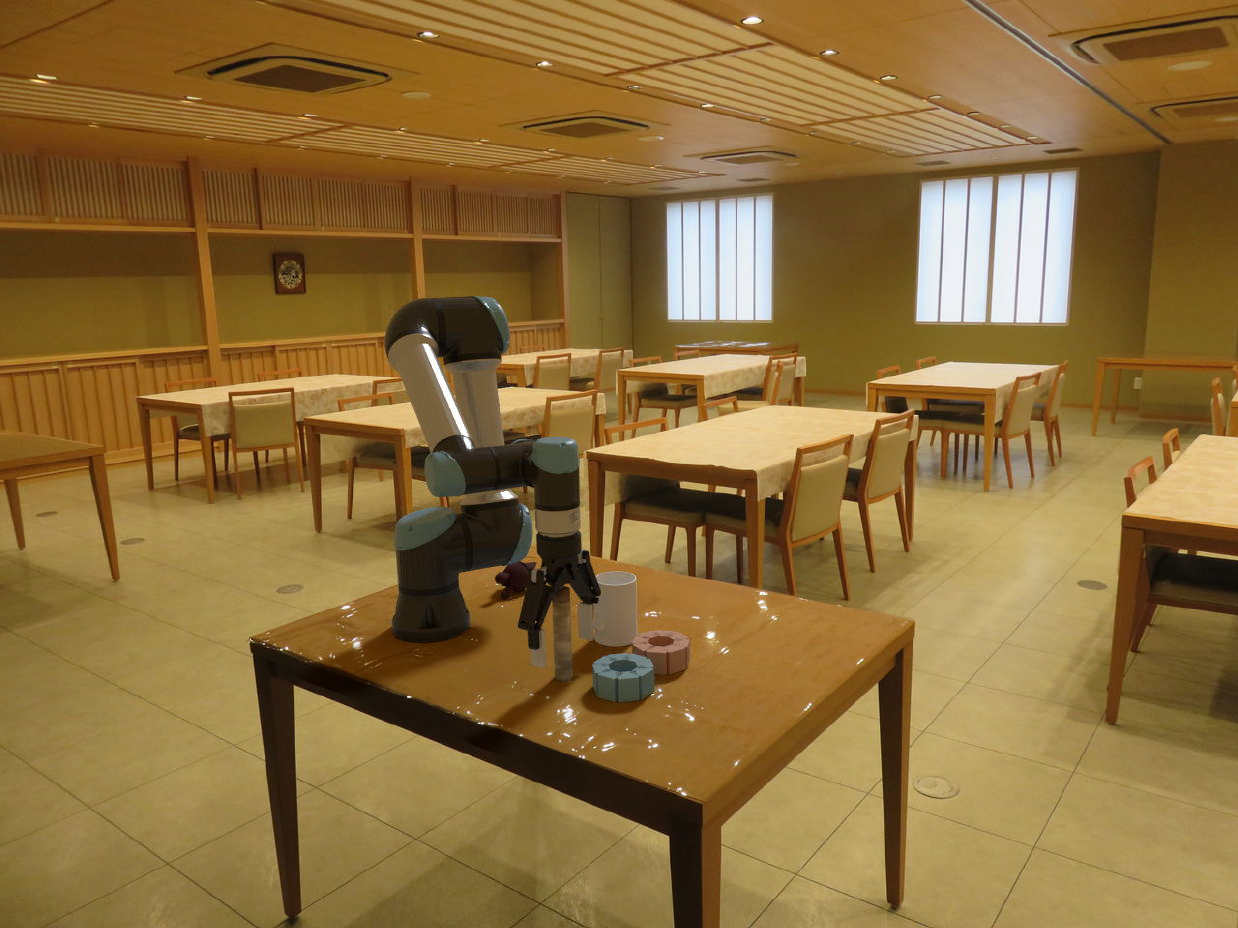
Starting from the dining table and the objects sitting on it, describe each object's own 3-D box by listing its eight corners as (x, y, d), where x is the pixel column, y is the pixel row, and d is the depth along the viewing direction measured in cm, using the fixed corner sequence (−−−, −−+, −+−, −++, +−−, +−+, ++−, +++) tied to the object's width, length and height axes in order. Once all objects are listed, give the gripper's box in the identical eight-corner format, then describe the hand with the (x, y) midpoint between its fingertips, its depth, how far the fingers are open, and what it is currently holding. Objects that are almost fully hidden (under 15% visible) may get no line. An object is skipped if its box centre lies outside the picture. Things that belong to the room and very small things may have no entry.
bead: (582, 692, 149) (581, 669, 149) (615, 670, 157) (615, 649, 156) (631, 707, 144) (631, 683, 143) (663, 683, 152) (663, 661, 151)
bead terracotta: (628, 672, 157) (628, 650, 156) (639, 649, 166) (638, 628, 165) (684, 676, 155) (684, 654, 154) (692, 652, 164) (692, 632, 163)
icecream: (518, 550, 206) (480, 575, 193) (544, 546, 202) (507, 571, 190) (527, 578, 207) (490, 605, 194) (553, 575, 204) (517, 602, 191)
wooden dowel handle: (551, 678, 155) (548, 589, 151) (562, 672, 157) (559, 584, 154) (565, 682, 153) (562, 593, 150) (576, 676, 155) (573, 587, 152)
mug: (605, 656, 163) (604, 593, 161) (572, 644, 169) (570, 583, 166) (648, 636, 172) (647, 576, 169) (615, 625, 177) (613, 567, 175)
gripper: (528, 553, 138) (533, 683, 142) (619, 516, 158) (621, 632, 162) (491, 546, 142) (498, 673, 146) (584, 511, 162) (587, 624, 166)
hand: (563, 651), depth 154 cm, fingers open, 12 cm apart
